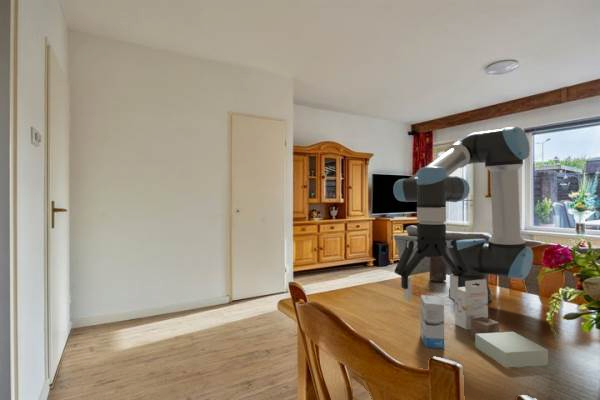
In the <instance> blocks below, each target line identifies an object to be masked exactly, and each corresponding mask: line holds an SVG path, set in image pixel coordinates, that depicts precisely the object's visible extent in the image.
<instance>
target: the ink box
mask: <svg viewBox="0 0 600 400" xmlns="http://www.w3.org/2000/svg"><path fill="white" fill-rule="evenodd" d="M420 337H421V339H422V341H423V344H424V346H425V348H430V349H431V348H432V349H445V305H444V304H443V302H442V301H441V299H440V298H439V296H437V295H427V294H426V295H425V294H423V295H422V294H421V295H420Z"/></svg>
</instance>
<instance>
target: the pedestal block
mask: <svg viewBox="0 0 600 400" xmlns="http://www.w3.org/2000/svg"><path fill="white" fill-rule="evenodd" d="M474 340H475V341H474V343H475V344H474V346H475V348H476V349H477V350H479V351H480V352H481V351H482V353H483V354H484V353H485V354H484V355H486V356H487V355H488V356H487V357H489V356H490V357H491V358H493V359H494V360H496V361H497V362H498V363H497V362H496V361H495V362H496V363H497V364H499V363H500V364H501V365H503V366H504V367H517V368H523V367H522V366H531V367H544V366H549V349H547V348H545V347H543V346H541V345H539V344H537V343H536V342H534V341H532V340H531V339H528V338H526V337H524V336H522V335H521V334H518V333H516V332H515V331H504V332H502V331H499V332H498V333H480V334H475V338H474ZM490 357H489V358H490ZM491 358H490V359H491ZM493 359H492V360H493ZM494 360H493V361H494ZM500 364H499V365H500ZM501 365H500V366H501ZM503 366H502V367H503ZM504 367H503V368H504Z"/></svg>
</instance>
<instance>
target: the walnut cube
mask: <svg viewBox="0 0 600 400" xmlns="http://www.w3.org/2000/svg"><path fill="white" fill-rule="evenodd" d="M498 332H500V322H498V321H497V320H493V319H491V318H489V317H488V318H486V317H479V318H474V319H471V329H470V337H472V338H474V339H475V334H480V333H498Z"/></svg>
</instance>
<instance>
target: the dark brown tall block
mask: <svg viewBox="0 0 600 400" xmlns="http://www.w3.org/2000/svg"><path fill="white" fill-rule="evenodd" d="M445 241H447V239H445ZM444 251H445V252H446V253H447V246H446V247H445V249H444ZM429 280H430V281H433V282H436V283H440V282H445V281H446V280H447V265H446V264H445V263H444V262H443V260H442V259H441V258H440V257H439V256H438V257H434V256H432V257H429Z"/></svg>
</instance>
